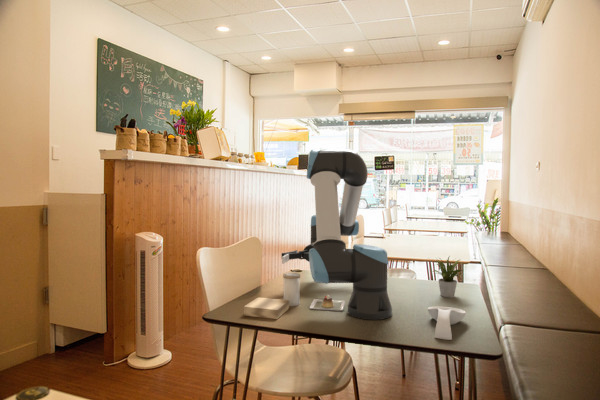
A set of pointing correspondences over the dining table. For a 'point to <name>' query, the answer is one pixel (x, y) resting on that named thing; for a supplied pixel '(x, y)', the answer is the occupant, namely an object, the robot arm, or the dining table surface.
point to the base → (266, 308)
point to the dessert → (327, 303)
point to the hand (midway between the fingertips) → (299, 261)
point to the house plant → (448, 278)
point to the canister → (291, 288)
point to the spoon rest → (445, 320)
